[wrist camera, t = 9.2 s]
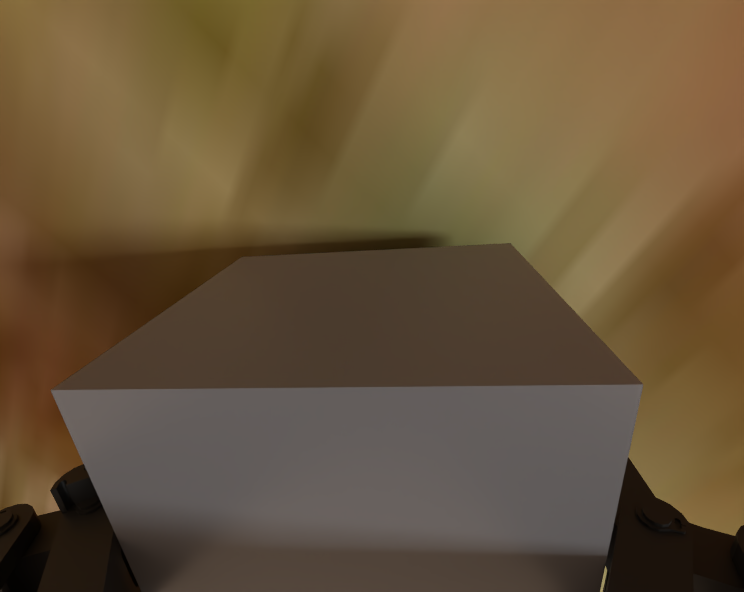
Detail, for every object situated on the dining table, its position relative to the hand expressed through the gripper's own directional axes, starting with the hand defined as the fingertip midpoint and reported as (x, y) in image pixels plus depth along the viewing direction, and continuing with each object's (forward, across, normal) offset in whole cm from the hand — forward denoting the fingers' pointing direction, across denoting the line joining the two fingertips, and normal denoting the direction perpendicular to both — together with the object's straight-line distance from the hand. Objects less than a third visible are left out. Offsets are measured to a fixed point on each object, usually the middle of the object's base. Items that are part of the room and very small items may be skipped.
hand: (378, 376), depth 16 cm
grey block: (+1, 0, 0) cm, 1 cm away
